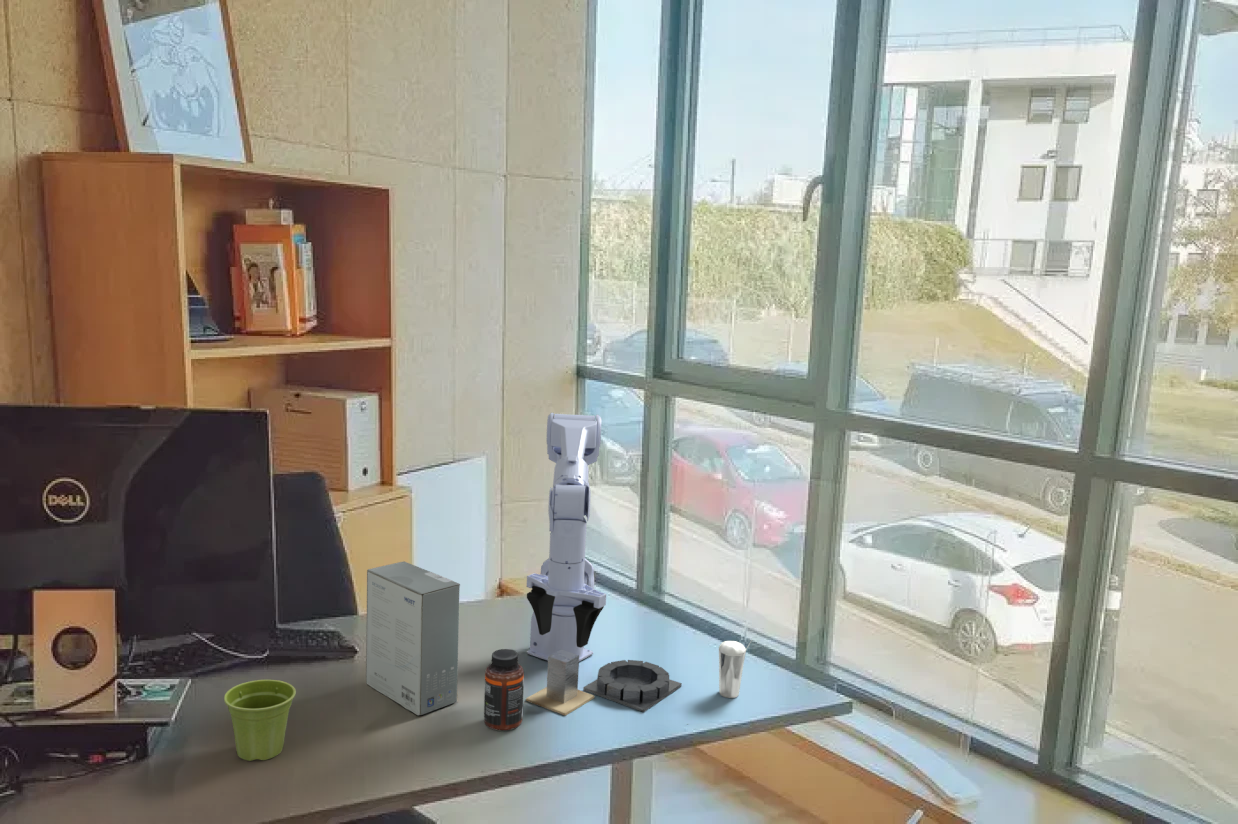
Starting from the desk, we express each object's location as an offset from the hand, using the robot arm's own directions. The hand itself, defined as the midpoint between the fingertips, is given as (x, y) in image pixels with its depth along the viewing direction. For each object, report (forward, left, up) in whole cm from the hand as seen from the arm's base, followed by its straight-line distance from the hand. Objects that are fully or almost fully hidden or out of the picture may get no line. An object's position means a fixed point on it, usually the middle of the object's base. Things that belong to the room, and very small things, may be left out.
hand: (563, 639), depth 154 cm
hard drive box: (-20, -14, -11) cm, 27 cm away
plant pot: (-23, -40, -11) cm, 47 cm away
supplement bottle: (-2, -12, -11) cm, 16 cm away
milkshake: (+21, +20, -11) cm, 31 cm away
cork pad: (0, 0, -10) cm, 10 cm away
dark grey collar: (+7, +11, -10) cm, 17 cm away
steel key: (0, 0, -10) cm, 10 cm away
